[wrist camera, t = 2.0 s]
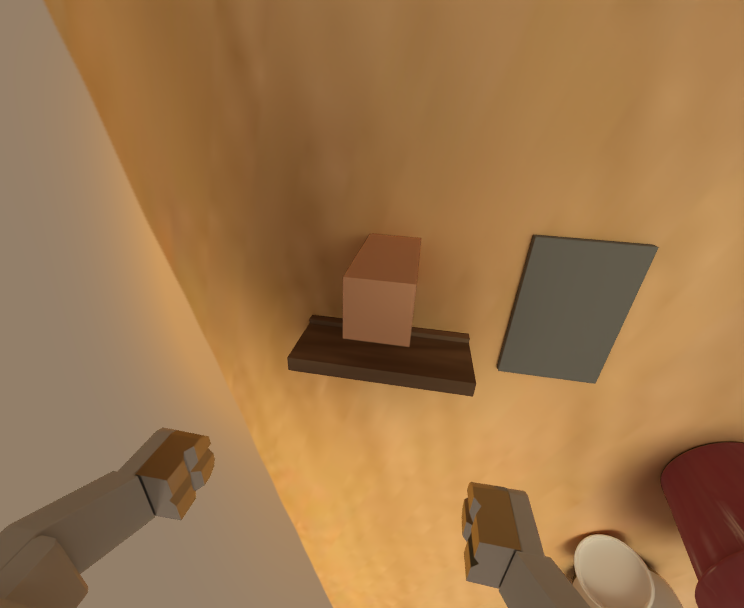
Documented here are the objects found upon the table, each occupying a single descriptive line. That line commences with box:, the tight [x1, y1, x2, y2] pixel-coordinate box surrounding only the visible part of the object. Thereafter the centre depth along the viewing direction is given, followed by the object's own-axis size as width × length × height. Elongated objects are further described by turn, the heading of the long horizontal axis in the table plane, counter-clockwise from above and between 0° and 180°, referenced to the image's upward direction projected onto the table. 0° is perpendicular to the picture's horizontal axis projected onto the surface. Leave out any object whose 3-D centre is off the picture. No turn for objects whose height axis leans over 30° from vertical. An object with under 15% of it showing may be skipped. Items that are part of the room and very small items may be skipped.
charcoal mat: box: [497, 235, 659, 384], centre depth 26 cm, size 12×8×1 cm, turn 178°
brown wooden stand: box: [287, 315, 476, 396], centre depth 28 cm, size 5×14×6 cm, turn 88°
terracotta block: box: [343, 234, 421, 347], centre depth 23 cm, size 4×4×9 cm
